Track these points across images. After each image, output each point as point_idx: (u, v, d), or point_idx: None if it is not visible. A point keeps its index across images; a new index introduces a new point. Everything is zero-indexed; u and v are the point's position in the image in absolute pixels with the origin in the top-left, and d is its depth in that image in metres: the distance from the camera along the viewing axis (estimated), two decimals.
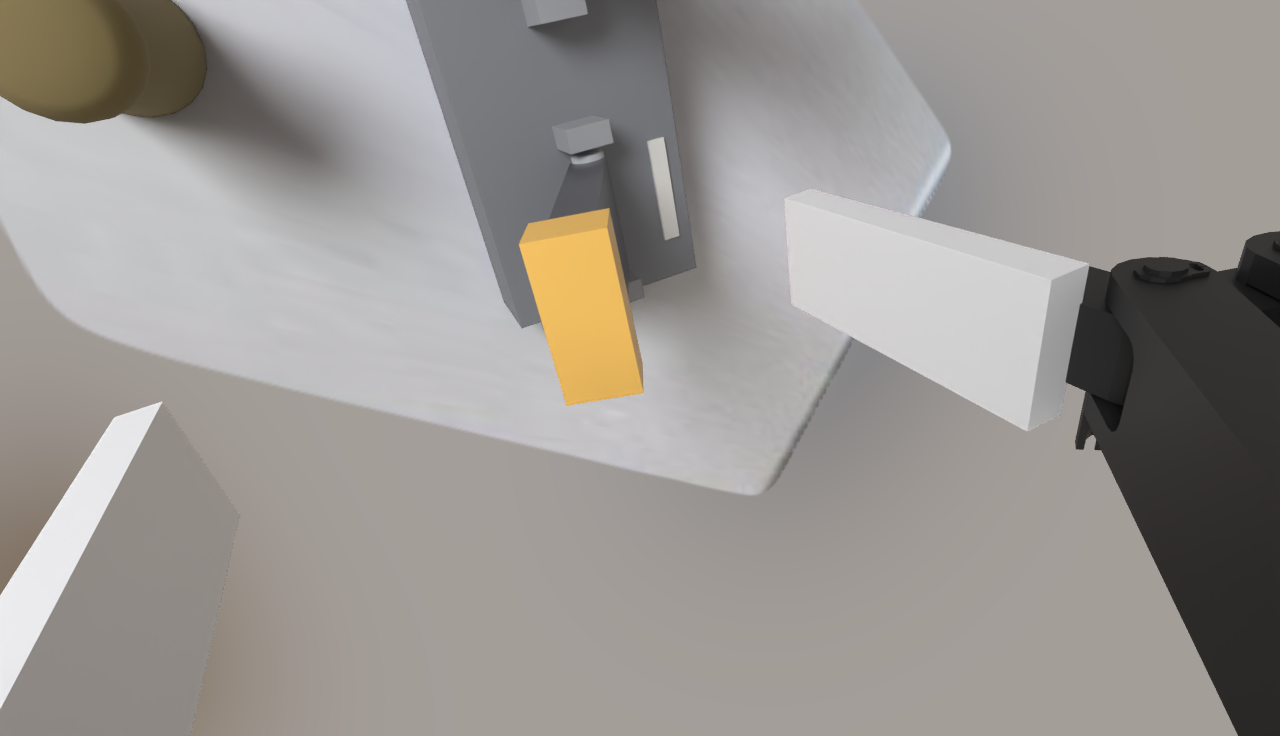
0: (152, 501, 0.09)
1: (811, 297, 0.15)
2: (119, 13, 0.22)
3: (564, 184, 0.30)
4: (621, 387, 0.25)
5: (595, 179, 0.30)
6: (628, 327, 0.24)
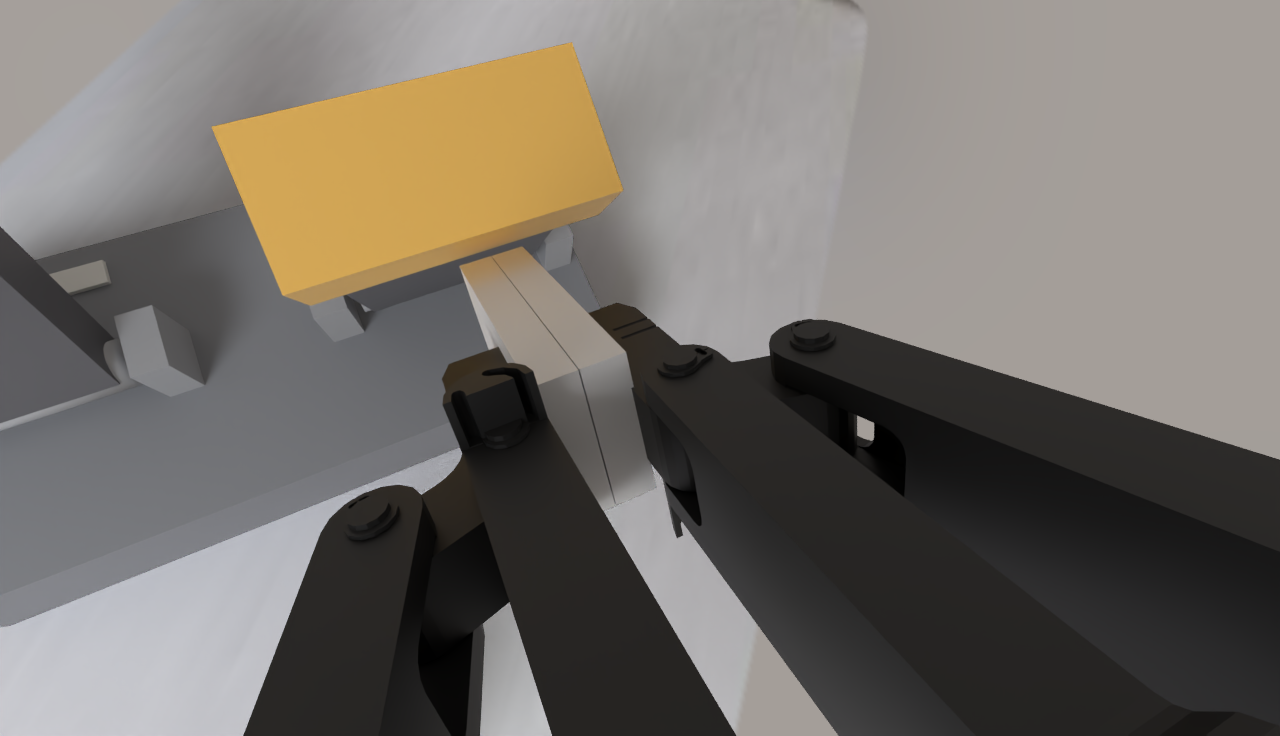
0: None
1: None
2: None
3: None
4: (566, 86, 0.13)
5: None
6: (430, 77, 0.12)
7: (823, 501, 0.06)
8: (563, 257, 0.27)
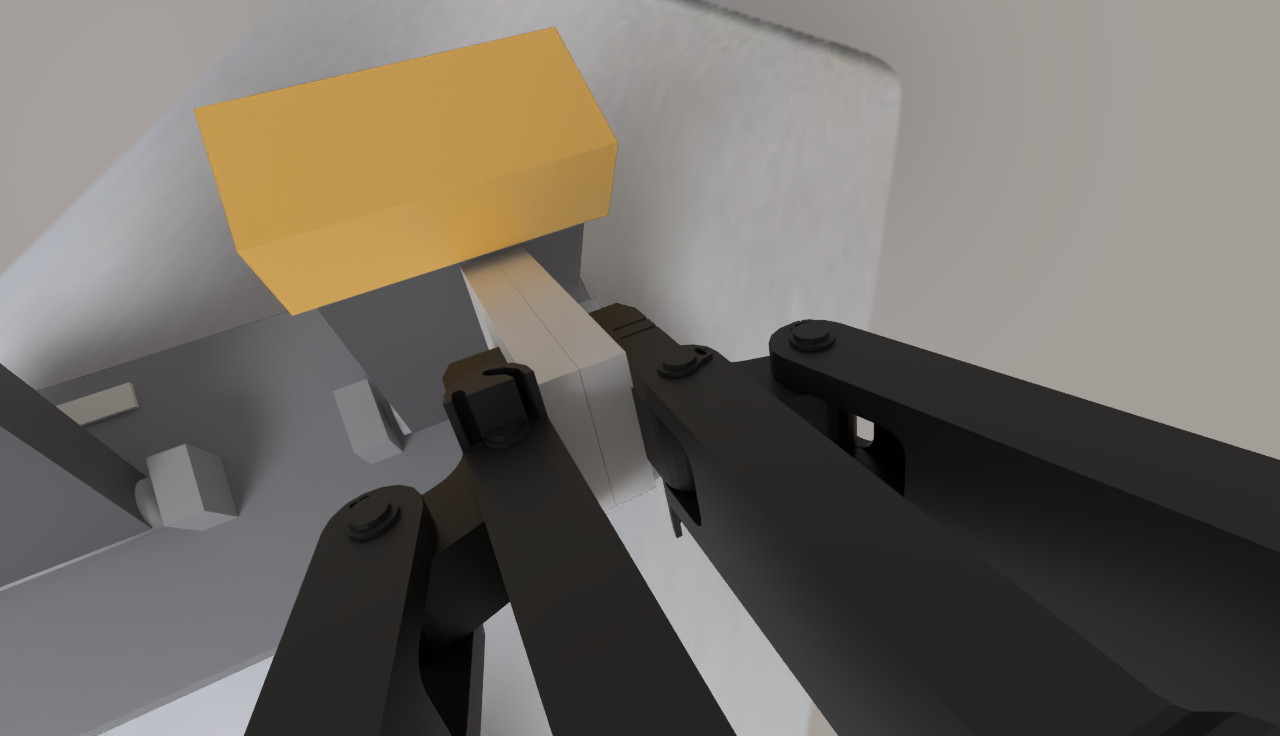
0: None
1: None
2: None
3: None
4: (551, 60, 0.13)
5: None
6: (413, 62, 0.12)
7: (823, 501, 0.06)
8: None
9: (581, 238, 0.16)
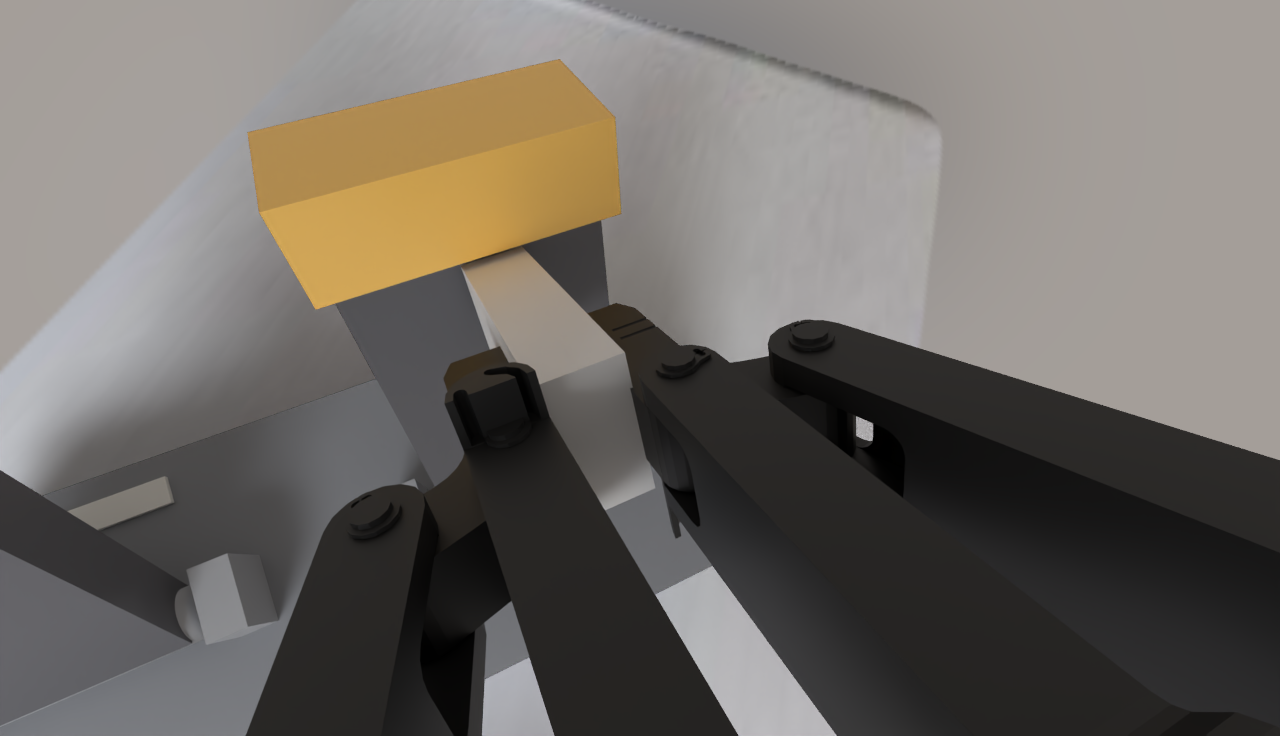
0: None
1: None
2: None
3: None
4: (555, 77, 0.14)
5: None
6: (436, 90, 0.14)
7: (822, 502, 0.06)
8: None
9: (604, 260, 0.17)
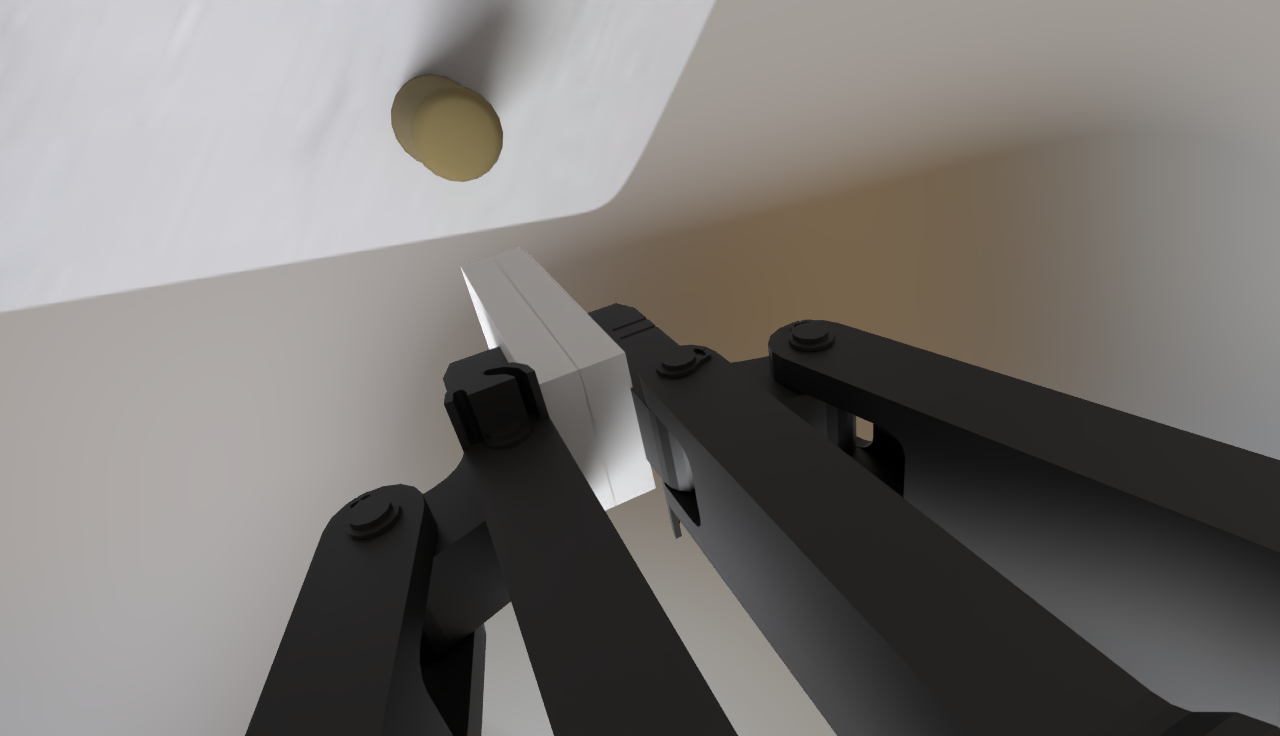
0: None
1: None
2: (436, 92, 0.34)
3: None
4: None
5: None
6: None
7: (822, 501, 0.06)
8: None
9: None
